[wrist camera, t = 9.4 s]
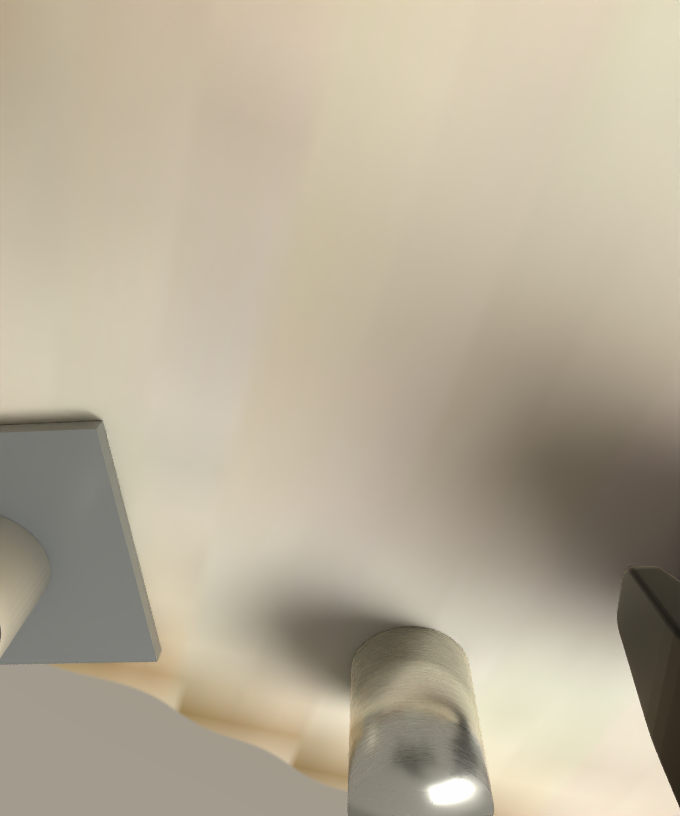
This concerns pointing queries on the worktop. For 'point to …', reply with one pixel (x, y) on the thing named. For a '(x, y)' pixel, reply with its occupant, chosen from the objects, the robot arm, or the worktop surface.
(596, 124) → the worktop surface
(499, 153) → the worktop surface
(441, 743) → the tin
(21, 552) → the jar
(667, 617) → the robot arm
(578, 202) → the worktop surface
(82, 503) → the pad
